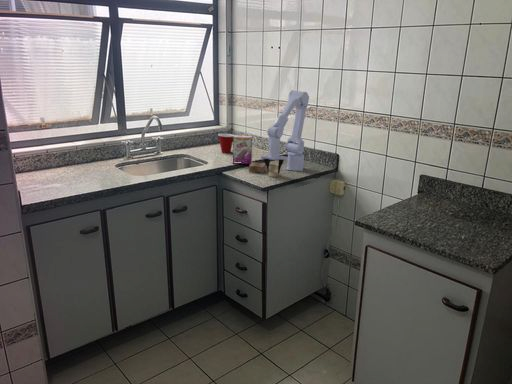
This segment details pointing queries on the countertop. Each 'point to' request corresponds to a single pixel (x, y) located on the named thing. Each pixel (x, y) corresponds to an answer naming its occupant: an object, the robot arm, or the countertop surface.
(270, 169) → the maple block
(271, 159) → the robot arm
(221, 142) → the plastic cup
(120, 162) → the countertop surface
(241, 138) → the candy bar box
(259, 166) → the walnut block
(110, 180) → the countertop surface
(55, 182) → the countertop surface
